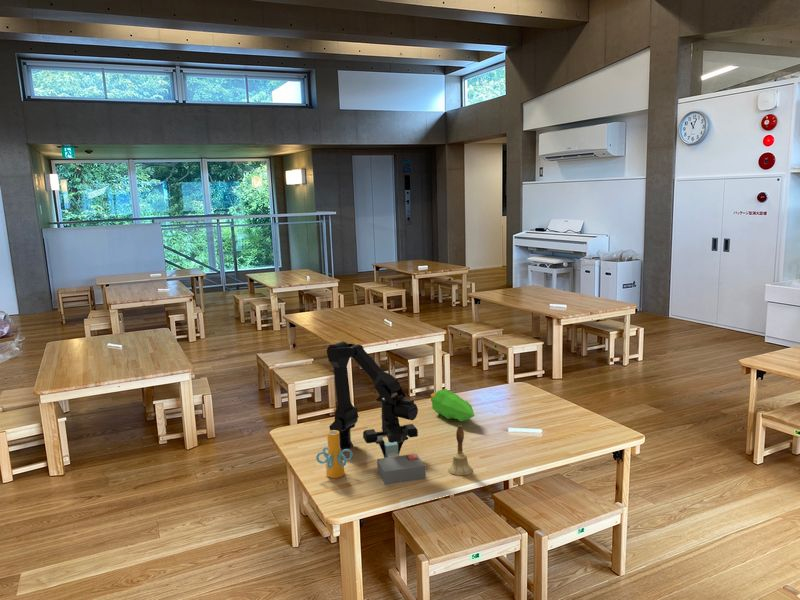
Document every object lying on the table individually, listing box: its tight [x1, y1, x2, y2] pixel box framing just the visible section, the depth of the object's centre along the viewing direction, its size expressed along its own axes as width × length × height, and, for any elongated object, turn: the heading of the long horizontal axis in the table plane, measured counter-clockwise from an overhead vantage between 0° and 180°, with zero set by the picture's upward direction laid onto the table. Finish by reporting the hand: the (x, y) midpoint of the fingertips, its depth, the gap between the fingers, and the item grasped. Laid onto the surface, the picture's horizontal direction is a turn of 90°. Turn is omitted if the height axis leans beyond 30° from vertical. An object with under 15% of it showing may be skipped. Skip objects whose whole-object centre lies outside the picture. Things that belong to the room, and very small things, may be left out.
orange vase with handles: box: [315, 430, 353, 479], centre depth 201 cm, size 12×10×15 cm
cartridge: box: [384, 441, 400, 458], centre depth 205 cm, size 18×4×6 cm, turn 16°
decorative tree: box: [430, 388, 475, 422], centre depth 248 cm, size 11×12×30 cm
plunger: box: [406, 453, 417, 461], centre depth 203 cm, size 3×3×5 cm
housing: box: [376, 453, 427, 486], centre depth 200 cm, size 10×14×5 cm
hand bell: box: [447, 424, 474, 477], centre depth 201 cm, size 8×8×16 cm
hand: (391, 456), depth 213 cm, fingers closed on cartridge, 4 cm apart
